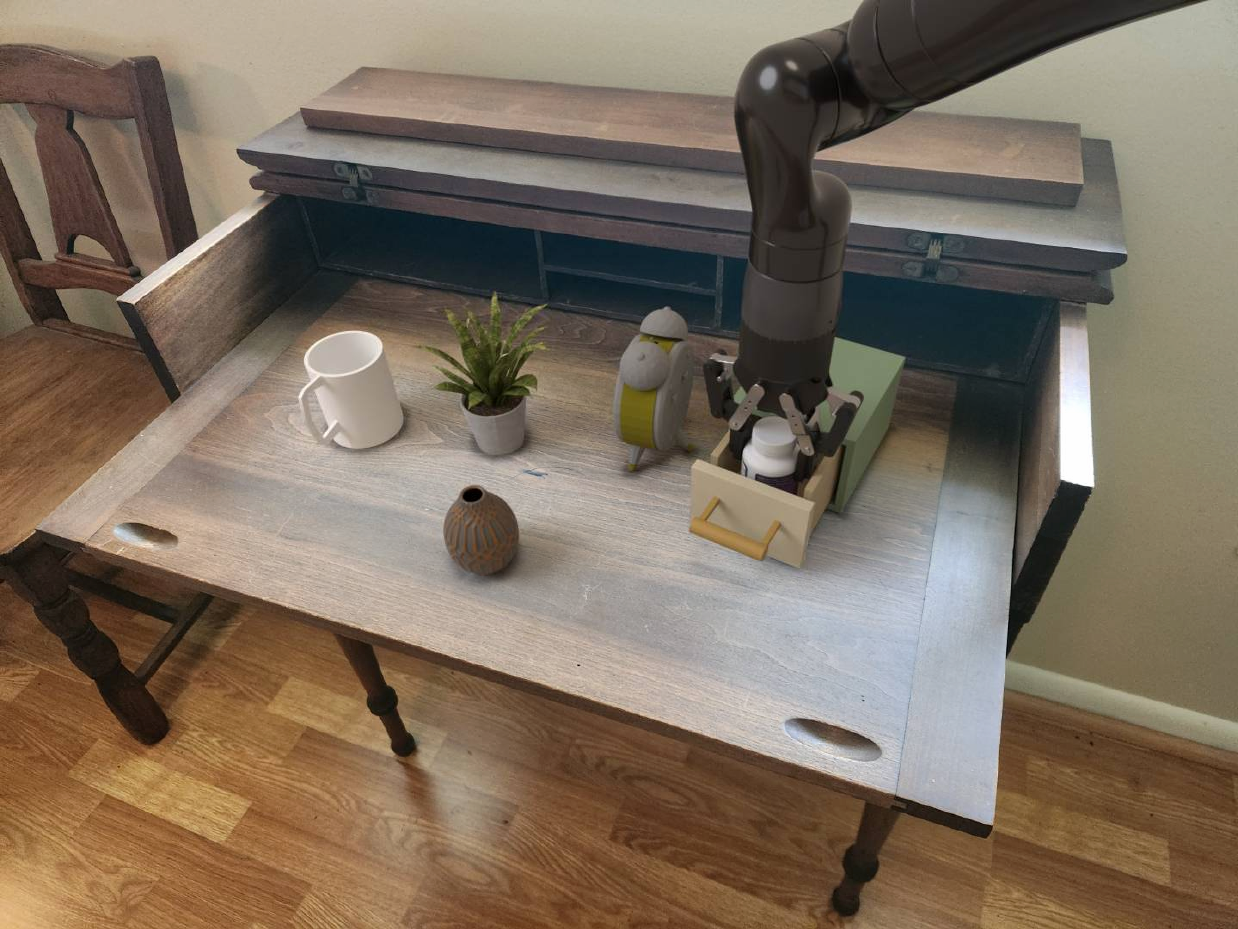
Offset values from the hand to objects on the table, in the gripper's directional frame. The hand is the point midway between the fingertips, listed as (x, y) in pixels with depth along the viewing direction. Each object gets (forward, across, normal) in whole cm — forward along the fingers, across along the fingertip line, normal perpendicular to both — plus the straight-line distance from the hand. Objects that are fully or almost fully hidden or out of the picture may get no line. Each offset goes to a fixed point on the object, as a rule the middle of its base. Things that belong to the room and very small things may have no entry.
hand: (771, 464), depth 77 cm
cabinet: (+7, 0, +12) cm, 14 cm away
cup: (+8, -45, -10) cm, 47 cm away
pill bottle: (+6, 0, 0) cm, 6 cm away
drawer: (+7, 0, 0) cm, 7 cm away
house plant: (+8, -29, -2) cm, 30 cm away
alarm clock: (+8, -14, +5) cm, 17 cm away
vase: (+8, -21, -17) cm, 28 cm away
